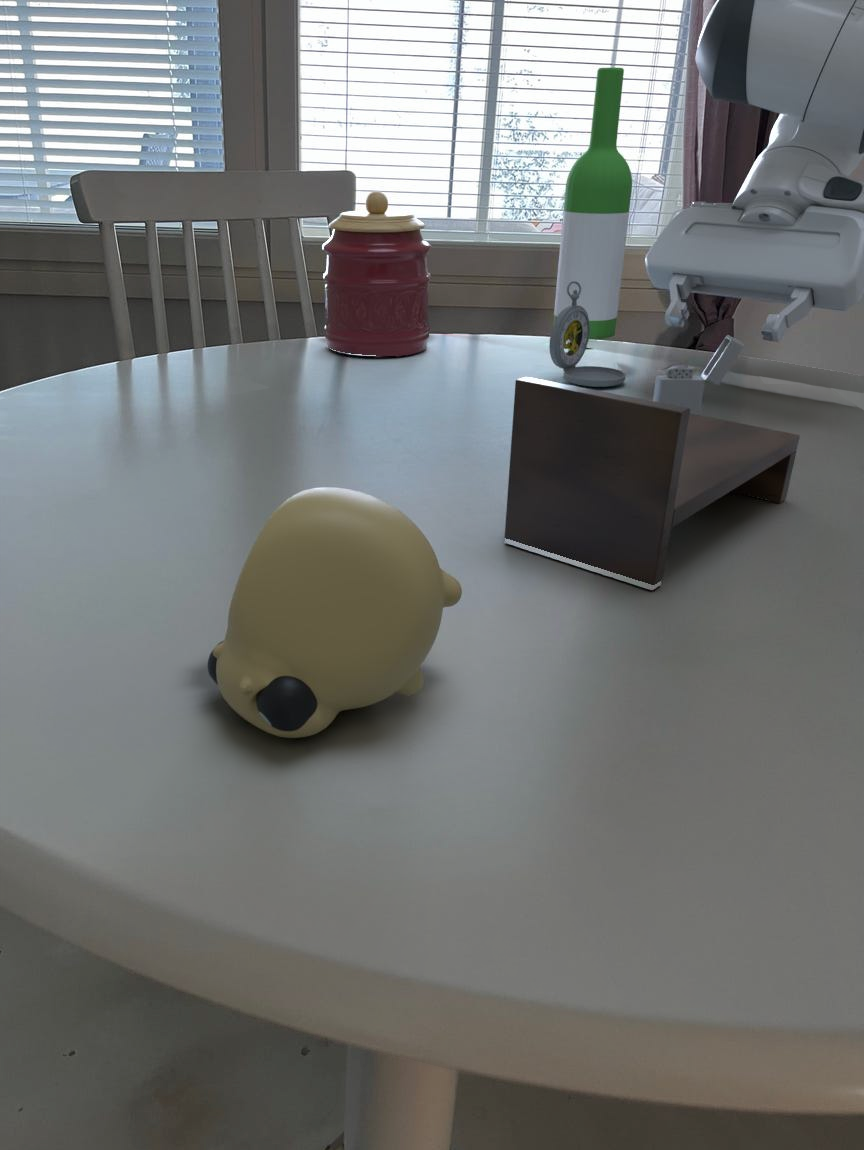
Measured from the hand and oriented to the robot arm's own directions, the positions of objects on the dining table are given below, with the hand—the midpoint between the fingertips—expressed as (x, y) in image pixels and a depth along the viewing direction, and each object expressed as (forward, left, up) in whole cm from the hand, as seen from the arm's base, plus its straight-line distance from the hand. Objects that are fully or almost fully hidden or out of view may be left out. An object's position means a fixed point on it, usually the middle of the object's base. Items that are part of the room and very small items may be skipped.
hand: (719, 329), depth 87 cm
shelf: (-9, +28, -8) cm, 30 cm away
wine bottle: (+26, -20, -8) cm, 34 cm away
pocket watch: (+16, -4, -8) cm, 18 cm away
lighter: (0, +4, -8) cm, 9 cm away
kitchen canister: (+44, -1, -8) cm, 45 cm away
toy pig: (-8, +60, -8) cm, 61 cm away
